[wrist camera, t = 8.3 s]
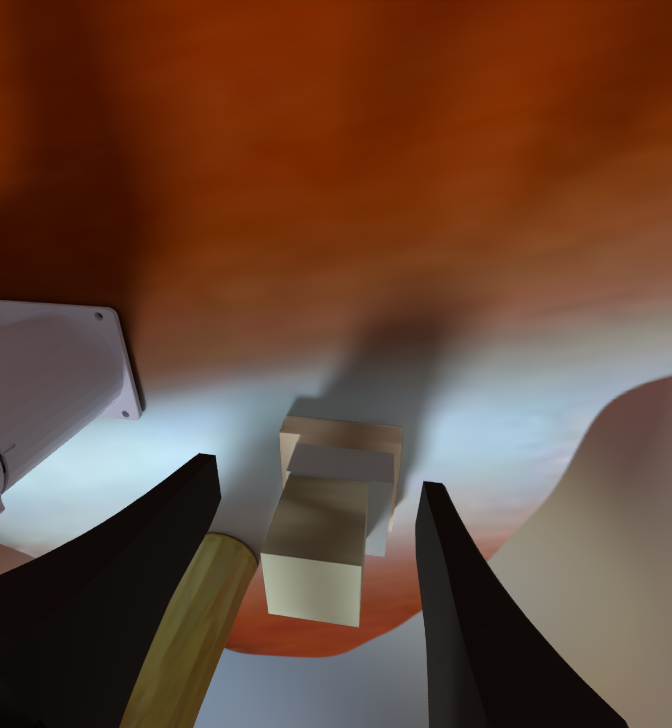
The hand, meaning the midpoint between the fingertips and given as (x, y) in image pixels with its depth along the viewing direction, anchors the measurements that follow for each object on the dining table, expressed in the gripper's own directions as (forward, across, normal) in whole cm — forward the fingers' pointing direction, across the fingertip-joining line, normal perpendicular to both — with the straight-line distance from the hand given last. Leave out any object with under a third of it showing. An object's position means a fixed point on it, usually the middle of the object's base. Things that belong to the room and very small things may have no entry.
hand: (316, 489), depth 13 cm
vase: (+11, +10, +20) cm, 24 cm away
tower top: (+9, 0, +8) cm, 12 cm away
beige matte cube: (+6, 0, +8) cm, 10 cm away
